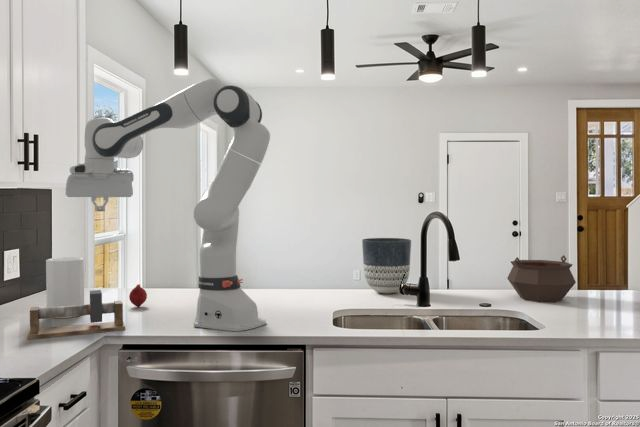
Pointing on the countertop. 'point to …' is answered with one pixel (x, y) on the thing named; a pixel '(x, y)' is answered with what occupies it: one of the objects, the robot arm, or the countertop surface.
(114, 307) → the pipe rack
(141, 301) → the onion
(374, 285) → the planter
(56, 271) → the cup
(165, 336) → the countertop surface
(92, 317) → the collar
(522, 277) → the brown cauldron
